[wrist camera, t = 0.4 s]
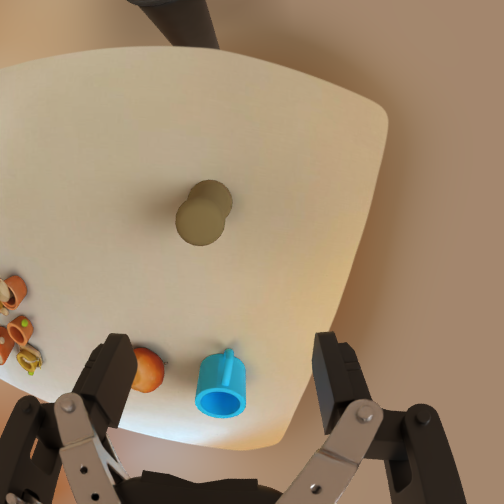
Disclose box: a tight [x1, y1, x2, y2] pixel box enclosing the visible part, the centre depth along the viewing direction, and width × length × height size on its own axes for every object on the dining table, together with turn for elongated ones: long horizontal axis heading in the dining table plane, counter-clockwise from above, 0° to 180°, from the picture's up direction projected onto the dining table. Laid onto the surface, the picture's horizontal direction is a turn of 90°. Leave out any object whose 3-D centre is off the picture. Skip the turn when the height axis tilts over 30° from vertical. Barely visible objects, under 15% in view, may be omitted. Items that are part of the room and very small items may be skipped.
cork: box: [175, 180, 232, 246], centre depth 34 cm, size 6×6×11 cm
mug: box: [195, 348, 246, 418], centre depth 46 cm, size 12×8×8 cm
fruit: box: [131, 348, 168, 393], centre depth 47 cm, size 8×8×8 cm
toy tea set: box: [0, 276, 43, 375], centre depth 42 cm, size 26×16×10 cm, turn 164°
